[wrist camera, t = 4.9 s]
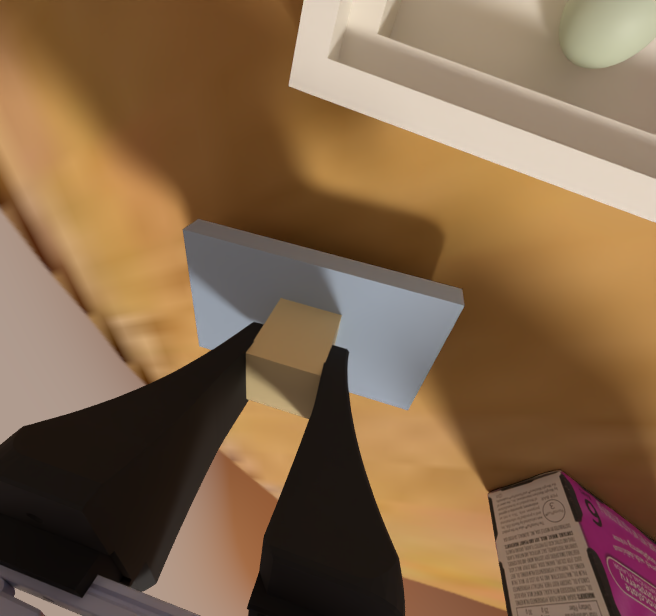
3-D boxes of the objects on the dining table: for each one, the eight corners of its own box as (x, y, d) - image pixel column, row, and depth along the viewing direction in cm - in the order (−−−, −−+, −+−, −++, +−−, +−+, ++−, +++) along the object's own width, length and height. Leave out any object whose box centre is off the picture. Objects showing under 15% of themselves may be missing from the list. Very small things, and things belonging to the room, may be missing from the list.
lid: (462, 288, 11) (474, 374, 8) (409, 392, 15) (403, 477, 12) (198, 218, 12) (120, 271, 9) (210, 332, 16) (157, 396, 13)
